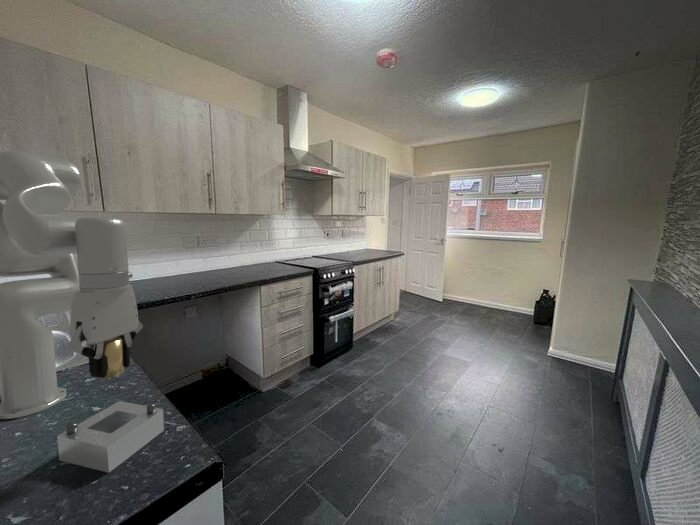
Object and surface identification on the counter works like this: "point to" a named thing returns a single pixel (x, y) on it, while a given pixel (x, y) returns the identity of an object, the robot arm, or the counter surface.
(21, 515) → the counter surface
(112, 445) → the jig
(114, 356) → the brass cylinder
